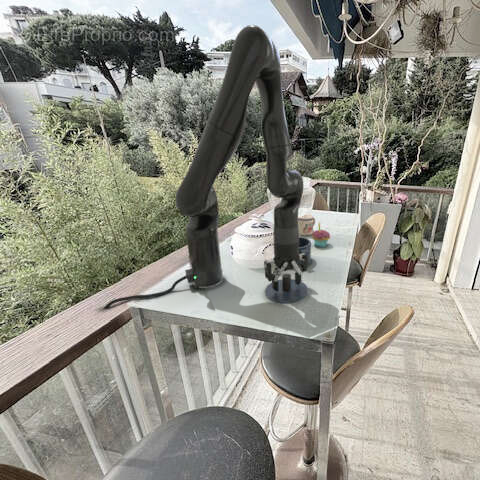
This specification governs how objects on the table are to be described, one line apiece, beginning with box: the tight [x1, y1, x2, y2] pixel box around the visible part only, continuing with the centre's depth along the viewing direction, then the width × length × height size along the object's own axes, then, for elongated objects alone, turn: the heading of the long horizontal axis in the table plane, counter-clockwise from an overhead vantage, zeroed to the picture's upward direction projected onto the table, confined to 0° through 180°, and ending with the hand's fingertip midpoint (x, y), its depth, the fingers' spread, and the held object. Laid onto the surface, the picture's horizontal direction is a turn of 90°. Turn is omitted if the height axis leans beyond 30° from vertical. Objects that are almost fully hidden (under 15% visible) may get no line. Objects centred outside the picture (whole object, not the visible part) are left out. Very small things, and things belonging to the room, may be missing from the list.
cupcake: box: [311, 222, 331, 248], centre depth 122 cm, size 9×8×12 cm
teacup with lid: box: [298, 213, 316, 237], centre depth 138 cm, size 12×9×12 cm
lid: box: [264, 273, 309, 304], centre depth 84 cm, size 14×14×6 cm
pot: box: [297, 236, 312, 268], centre depth 106 cm, size 13×18×8 cm
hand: (286, 286), depth 85 cm, fingers open, 7 cm apart
